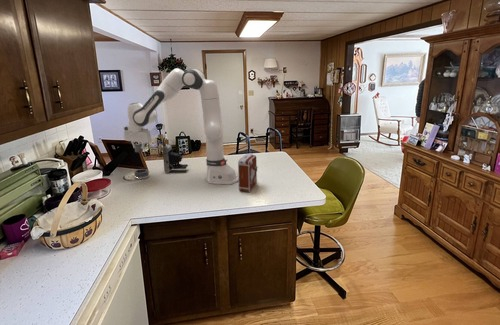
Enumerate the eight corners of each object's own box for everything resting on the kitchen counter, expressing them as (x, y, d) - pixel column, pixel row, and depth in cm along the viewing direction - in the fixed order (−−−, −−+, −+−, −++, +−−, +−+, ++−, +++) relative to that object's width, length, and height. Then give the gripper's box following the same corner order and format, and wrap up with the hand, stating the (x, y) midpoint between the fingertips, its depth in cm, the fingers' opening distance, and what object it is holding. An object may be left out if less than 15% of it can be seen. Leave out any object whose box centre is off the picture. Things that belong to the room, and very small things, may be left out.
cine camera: (261, 182, 185) (261, 152, 179) (251, 193, 167) (250, 160, 161) (247, 180, 187) (247, 151, 182) (236, 191, 170) (235, 159, 164)
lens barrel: (152, 175, 199) (151, 169, 198) (142, 180, 191) (141, 173, 190) (141, 174, 203) (140, 168, 201) (132, 178, 195) (131, 172, 193)
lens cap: (144, 150, 193) (144, 143, 192) (139, 152, 189) (138, 145, 187) (139, 150, 195) (138, 142, 194) (133, 151, 191) (132, 144, 189)
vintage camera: (185, 174, 203) (184, 146, 198) (164, 173, 203) (162, 146, 198) (188, 170, 213) (187, 143, 207) (168, 169, 213) (166, 143, 207)
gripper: (152, 128, 186) (154, 148, 190) (128, 125, 194) (130, 145, 198) (145, 129, 181) (147, 151, 185) (121, 127, 188) (123, 147, 192)
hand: (138, 148), depth 191 cm, fingers closed on lens cap, 5 cm apart
